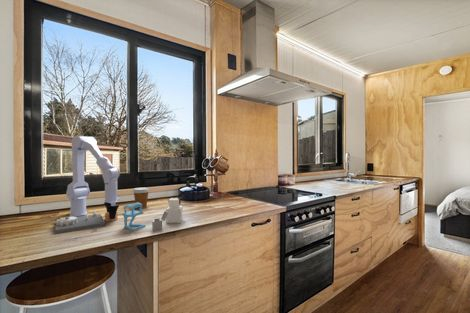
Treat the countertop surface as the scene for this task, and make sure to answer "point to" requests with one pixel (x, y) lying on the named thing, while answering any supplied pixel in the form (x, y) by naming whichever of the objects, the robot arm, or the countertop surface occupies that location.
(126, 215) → the chair
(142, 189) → the disposable coffee cup
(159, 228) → the lighter
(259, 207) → the countertop surface
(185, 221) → the countertop surface
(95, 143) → the robot arm
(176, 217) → the medicine bottle
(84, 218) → the gear board
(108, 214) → the orange gear
